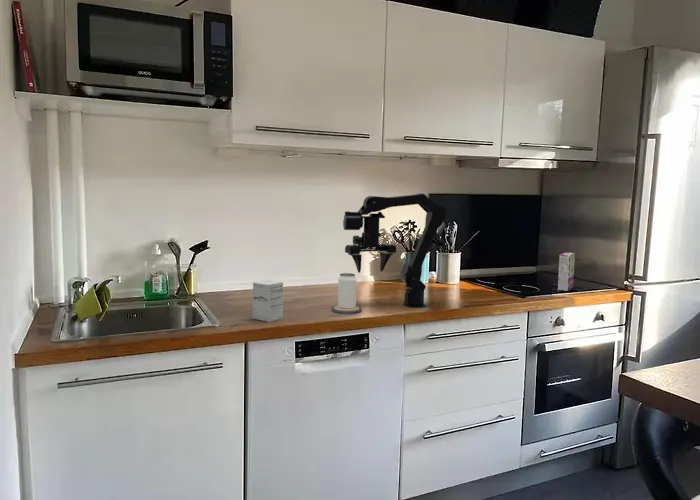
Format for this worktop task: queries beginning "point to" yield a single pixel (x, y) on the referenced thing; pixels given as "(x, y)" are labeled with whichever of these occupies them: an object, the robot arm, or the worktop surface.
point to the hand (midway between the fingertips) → (370, 271)
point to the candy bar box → (566, 271)
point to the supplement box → (267, 300)
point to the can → (347, 291)
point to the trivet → (346, 310)
